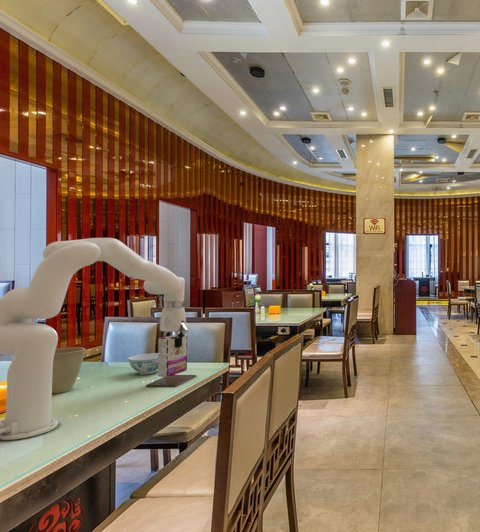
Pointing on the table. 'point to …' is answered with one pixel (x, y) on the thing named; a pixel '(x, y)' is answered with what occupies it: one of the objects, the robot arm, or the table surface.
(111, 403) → the table surface
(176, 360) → the candy bar box
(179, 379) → the plate
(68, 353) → the plant pot
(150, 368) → the chinaware
